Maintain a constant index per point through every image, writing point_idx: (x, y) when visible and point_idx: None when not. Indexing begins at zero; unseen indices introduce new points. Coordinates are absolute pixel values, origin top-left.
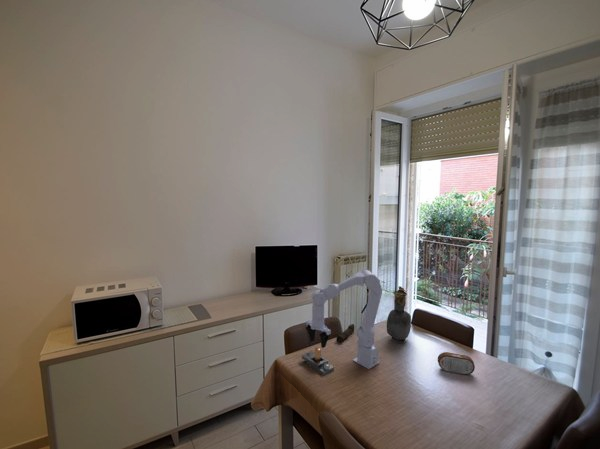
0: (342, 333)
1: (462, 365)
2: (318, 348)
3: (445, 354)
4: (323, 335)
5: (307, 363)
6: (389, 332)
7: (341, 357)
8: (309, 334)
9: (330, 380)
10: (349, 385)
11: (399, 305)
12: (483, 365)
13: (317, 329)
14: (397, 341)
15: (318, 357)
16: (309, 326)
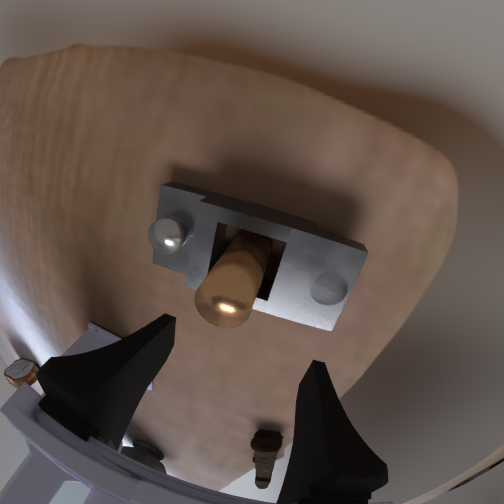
0: (266, 461)
1: (14, 368)
2: (224, 317)
3: (16, 382)
4: (36, 374)
5: (307, 222)
6: (140, 462)
7: (198, 358)
8: (330, 416)
9: (127, 168)
10: (70, 193)
11: None
12: (34, 386)
13: (104, 472)
14: (139, 443)
15: (219, 260)
16: (341, 501)
